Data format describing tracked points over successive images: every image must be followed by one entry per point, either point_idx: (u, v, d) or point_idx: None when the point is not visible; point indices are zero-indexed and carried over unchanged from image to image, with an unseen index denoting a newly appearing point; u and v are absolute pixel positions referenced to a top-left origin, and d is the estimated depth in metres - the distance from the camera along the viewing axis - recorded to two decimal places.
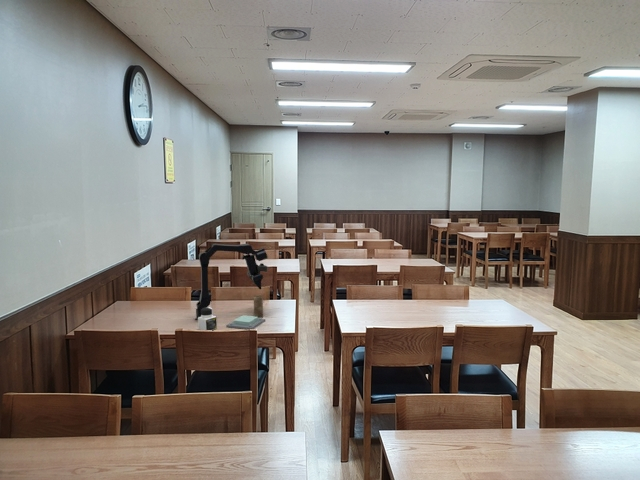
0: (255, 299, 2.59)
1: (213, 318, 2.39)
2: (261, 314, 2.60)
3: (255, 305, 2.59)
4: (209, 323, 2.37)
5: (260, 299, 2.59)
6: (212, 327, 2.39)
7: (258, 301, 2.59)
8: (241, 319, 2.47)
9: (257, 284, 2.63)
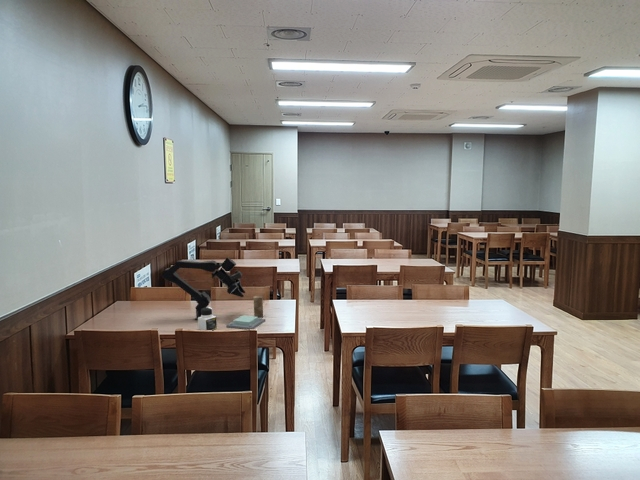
0: (255, 299, 2.59)
1: (213, 318, 2.39)
2: (261, 314, 2.60)
3: (255, 305, 2.59)
4: (209, 323, 2.37)
5: (260, 299, 2.59)
6: (212, 327, 2.39)
7: (258, 301, 2.59)
8: (241, 319, 2.47)
9: (237, 294, 2.54)
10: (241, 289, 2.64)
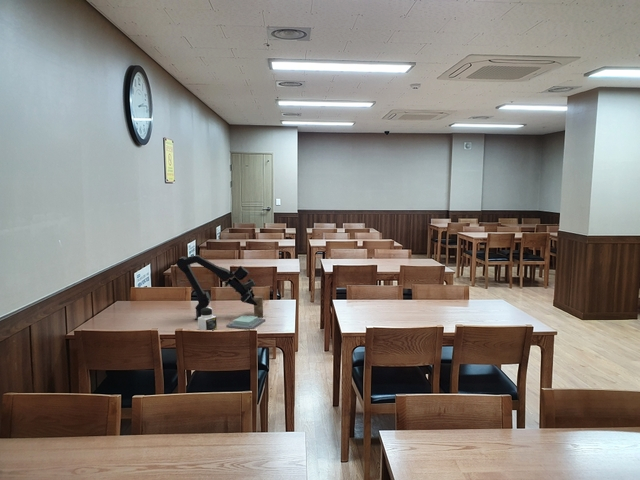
0: (255, 299, 2.59)
1: (213, 318, 2.39)
2: (261, 314, 2.60)
3: None
4: (209, 323, 2.37)
5: (260, 299, 2.59)
6: (212, 327, 2.39)
7: (258, 301, 2.59)
8: (241, 319, 2.47)
9: (250, 302, 2.55)
10: None
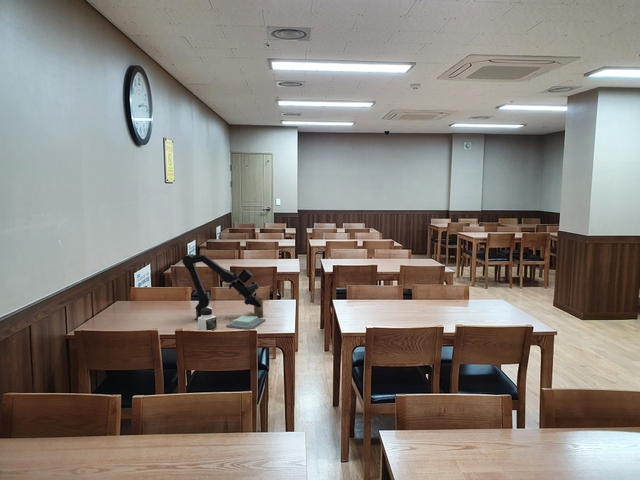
0: None
1: (213, 318, 2.39)
2: (261, 314, 2.60)
3: None
4: (209, 323, 2.37)
5: (260, 299, 2.59)
6: (212, 327, 2.39)
7: (258, 301, 2.59)
8: (241, 319, 2.47)
9: (254, 304, 2.57)
10: None
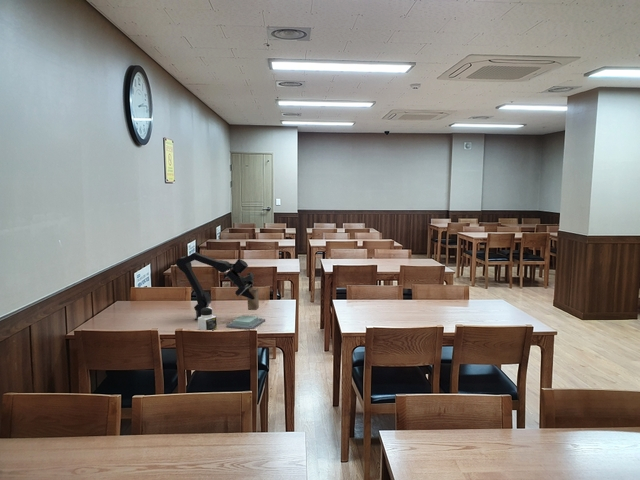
0: (249, 291, 2.51)
1: (213, 318, 2.39)
2: (255, 307, 2.51)
3: None
4: (209, 323, 2.37)
5: (254, 291, 2.50)
6: (212, 327, 2.39)
7: (252, 293, 2.51)
8: (241, 319, 2.47)
9: (247, 296, 2.50)
10: None
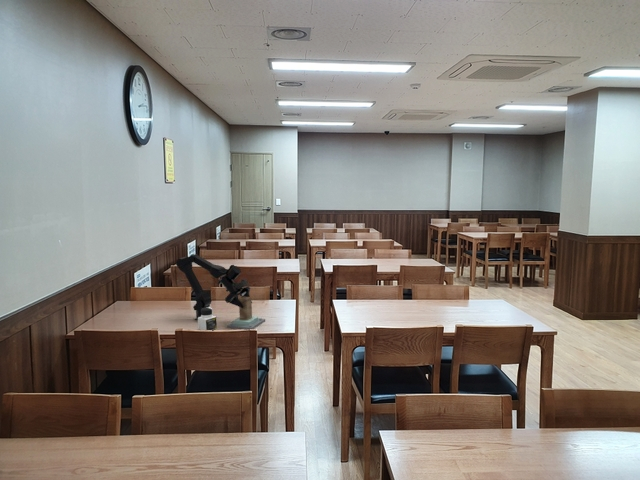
0: (240, 300, 2.45)
1: (213, 318, 2.39)
2: (246, 317, 2.45)
3: None
4: (209, 323, 2.37)
5: (245, 301, 2.44)
6: (212, 327, 2.39)
7: (243, 302, 2.45)
8: None
9: (236, 304, 2.42)
10: None
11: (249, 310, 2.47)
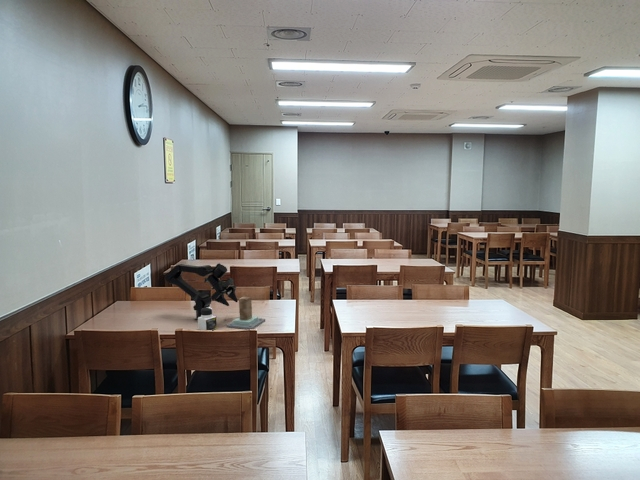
0: (240, 300, 2.45)
1: (213, 318, 2.39)
2: (246, 317, 2.45)
3: (240, 306, 2.46)
4: (209, 323, 2.37)
5: (245, 301, 2.44)
6: (212, 327, 2.39)
7: (243, 302, 2.45)
8: None
9: (222, 302, 2.46)
10: (234, 297, 2.55)
11: (249, 310, 2.47)
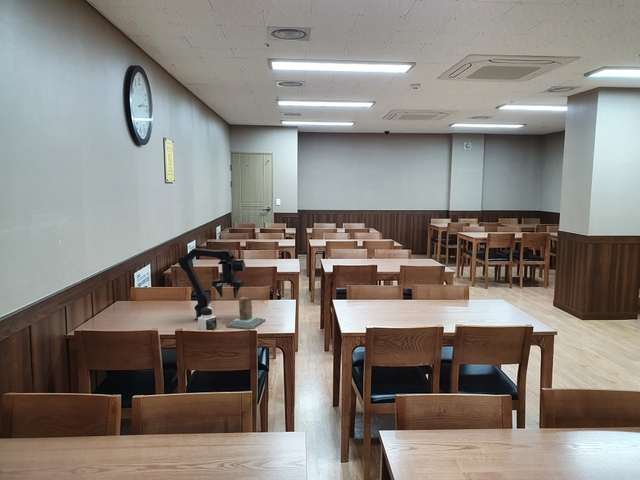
0: (240, 300, 2.45)
1: (213, 318, 2.39)
2: (246, 317, 2.45)
3: (240, 306, 2.46)
4: (209, 323, 2.37)
5: (245, 301, 2.44)
6: (212, 327, 2.39)
7: (243, 302, 2.45)
8: None
9: (236, 292, 2.53)
10: (221, 292, 2.58)
11: (249, 310, 2.47)
